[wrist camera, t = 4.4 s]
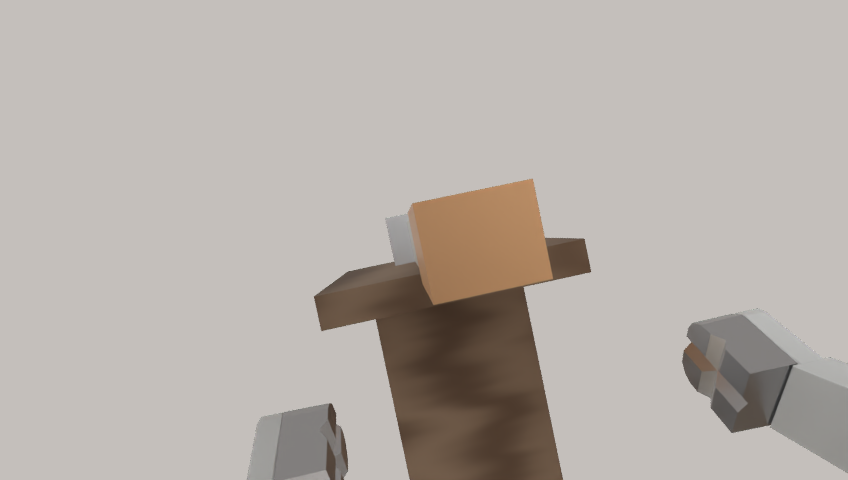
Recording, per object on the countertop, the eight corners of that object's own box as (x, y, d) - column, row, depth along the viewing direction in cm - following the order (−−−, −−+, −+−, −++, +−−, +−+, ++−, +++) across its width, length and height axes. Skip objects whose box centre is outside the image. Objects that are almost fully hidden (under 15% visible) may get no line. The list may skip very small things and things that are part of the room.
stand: (438, 877, 21) (314, 296, 20) (421, 618, 35) (347, 271, 34) (698, 802, 21) (584, 238, 21) (579, 578, 35) (509, 237, 35)
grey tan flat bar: (393, 314, 11) (367, 191, 11) (395, 261, 34) (387, 220, 34) (592, 270, 12) (568, 150, 12) (462, 247, 35) (454, 207, 35)
